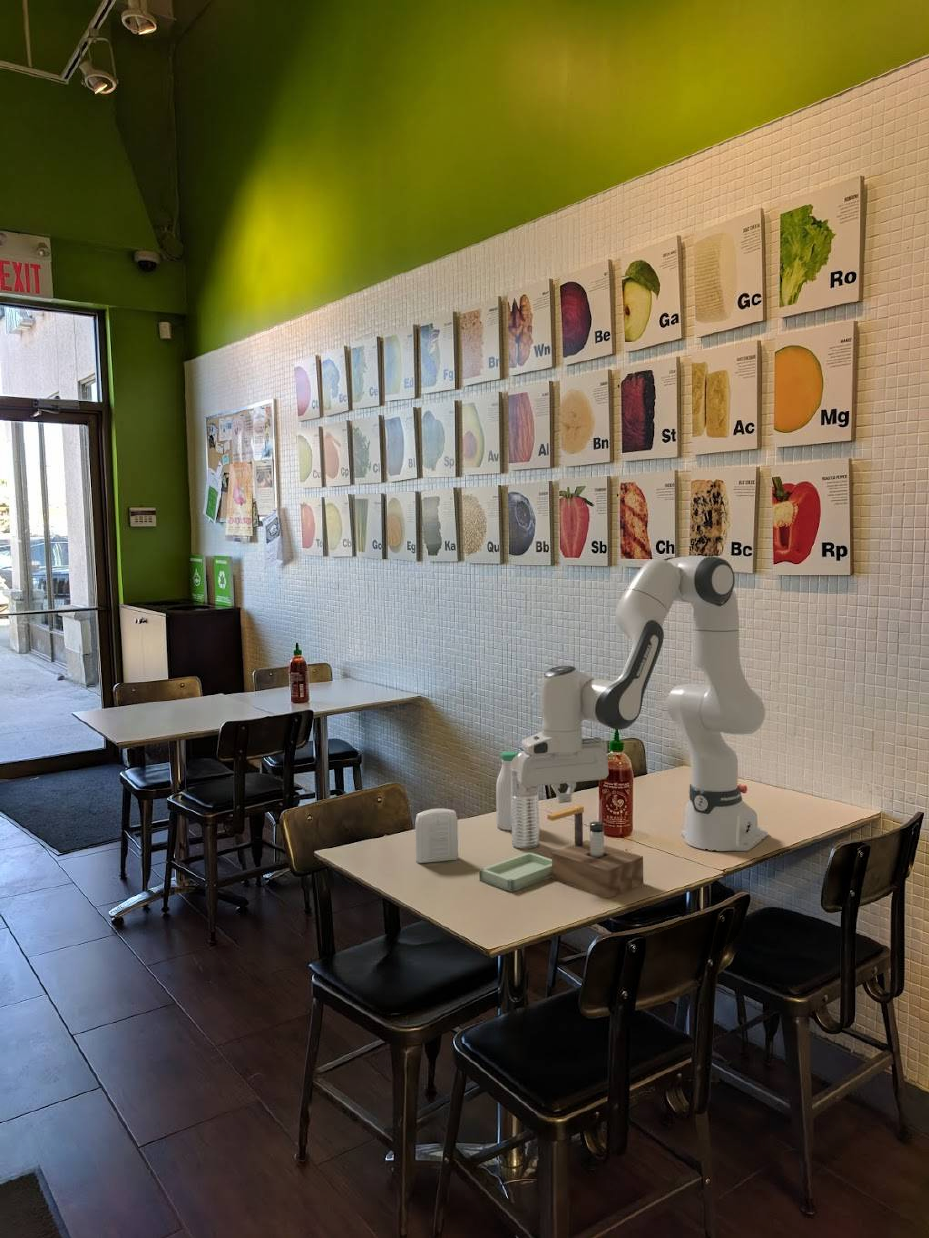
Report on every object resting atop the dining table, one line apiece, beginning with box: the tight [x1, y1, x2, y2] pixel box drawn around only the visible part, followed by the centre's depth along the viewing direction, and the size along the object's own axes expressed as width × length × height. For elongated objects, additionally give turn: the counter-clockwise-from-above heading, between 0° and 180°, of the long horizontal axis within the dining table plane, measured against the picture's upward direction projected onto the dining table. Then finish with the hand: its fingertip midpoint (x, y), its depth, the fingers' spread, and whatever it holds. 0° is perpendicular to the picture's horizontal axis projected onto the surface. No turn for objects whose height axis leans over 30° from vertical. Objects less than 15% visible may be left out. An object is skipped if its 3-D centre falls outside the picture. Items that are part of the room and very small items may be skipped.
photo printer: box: [414, 808, 459, 864], centre depth 218 cm, size 10×4×12 cm, turn 104°
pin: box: [589, 821, 605, 859], centre depth 202 cm, size 3×3×13 cm
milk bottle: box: [495, 750, 519, 832], centre depth 241 cm, size 8×8×20 cm
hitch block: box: [551, 813, 644, 899], centre depth 202 cm, size 12×16×14 cm
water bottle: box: [510, 745, 540, 850], centre depth 226 cm, size 7×7×25 cm
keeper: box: [547, 805, 585, 821], centre depth 205 cm, size 10×2×1 cm, turn 129°
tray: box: [478, 851, 552, 893], centre depth 206 cm, size 16×10×2 cm, turn 132°
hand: (564, 801), depth 202 cm, fingers closed
